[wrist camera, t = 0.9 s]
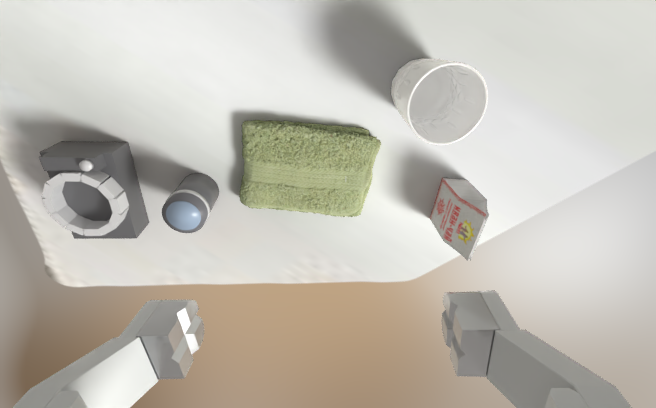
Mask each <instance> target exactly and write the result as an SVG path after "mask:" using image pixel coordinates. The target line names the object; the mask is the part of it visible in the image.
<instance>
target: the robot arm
mask: <svg viewBox="0 0 656 408" xmlns="http://www.w3.org/2000/svg"><path fill="white" fill-rule="evenodd" d="M443 304H444V307H445V309H446V310H445V311H444V312H443V313H442V331H443V336H444V339H445V343H446V345H447V346H449V347H450V348H451V353H450V358H451V361H452V363H453V367H454V370H455V372H456V375H457V376H480V377H481V376H482V377H487V379H488V380H489V381H490V382H491V383H492V384H493V385H494V386H495V387H496V388H497V389H498V390H499V391H500V392H501V393H502V394H503V395H504V396H505V397H506V398H507V399H508V400H509V401H510V402H511V403H512V404H513V405H514V406H515V407H516V408H632V407H631V406H630V404H629V403H628V402H627V400H626V399H625V398H624V397H623V396H622V394H621V393H620V392H619V390H618V389H617V388H616V387H615V386H614V385H612V384H611V383H609V382H607V381H606V380H604V379H603V378H601V377H600V376H598V375H596V374H595V373H593V372H592V371H590V370H589V369H587V368H585V367H584V366H582V365H581V364H579V363H578V362H576V361H574V360H573V359H571V358H570V357H568V356H566V355H565V354H563V353H562V352H560V351H558V350H557V349H555V348H554V347H552V346H551V345H549V344H547V343H546V342H544V341H543V340H541V339H539V338H538V337H536V336H535V335H533V334H532V333H530V332H528V331H527V330H520V328H519V327H518V325H517V324H516V322H515V321H514V319H513V317H512V315H511V314H510V312H509V310H508V309H507V307H506V306H505V304H504V302H503V301H502V299H501V298H500V296H499V294H498V293H497V292H496V291H495V290H492V291H478V292H449V293H445V294H444V298H443ZM197 311H198V306H197V303H196V301H194V300H150V301H148V302H146V304H145V305H144V306H143V307H142V308H141V310H140V311H139V312H138V314H137V315H136V316H135V317H134V319H133V320H132V321H131V322H130V324H129V325H128V326H127V328H126V329H125V330H124V331H123V333H122V334H121V335H120V336H119V338H113V339H111V340H109V341H108V342H106V343H105V344H103V345H101V346H100V347H98V348H96V349H95V350H93V351H91V352H90V353H88V354H87V355H85V356H84V357H82V358H80V359H78V360H77V361H75V362H73V363H72V364H70V365H69V366H67V367H65V368H64V369H62V370H60V371H59V372H57V373H56V374H54V375H52V376H51V377H49V378H47V379H46V380H44V381H42V382H41V383H39V384H38V385H36V386H34V387H33V388H31V389H29V391H28V392H27V393H26V394H25V395H24V396H23V397H22V398H21V399H20V400H19V401H18V402H17V404H16V405H15V406H14V407H13V408H130V407H131V406H132V405H133V404H134V403H135V402H136V401H137V400H138V399H139V398H141V396H143V395H144V394H145V393H146V392H147V391H148V390H149V389H150V388H151V387H152V386H153V385H154V384H156V383H157V382H158V379H181V378H185V376H186V374H187V372H188V370H189V368H190V366H191V364H192V362H193V357H192V353H194V352H195V351H196V350H198V349H199V347H200V345H201V343H202V341H203V336H204V324H203V321H202V319H201V318H200V317H199V316H197V315H196V313H197Z"/></svg>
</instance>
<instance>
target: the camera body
mask: <svg viewBox="0 0 656 408" xmlns="http://www.w3.org/2000/svg"><path fill="white" fill-rule="evenodd" d="M40 154H41V157H39V159H40V161H41V164H42V166H43V169H44V171H47V172H48V174H49V177H50V180H48V181H47V182H46V183H45V185H44V189H43V193H42V197H43V198H42V201H43V203H44V205H45V208H46V210H47V212H48V213H52V214H51V215H50V216H51V217H52V218H53V219H54V220H55V221H56V222H57V223H59V224H60V225H61V226H62V227H65V226H66V228H65V229H67V230H70V231H72V234H73V236H74V238H137V237H138V236H139V235H140V233H141V232H142V231H143V230H144V228H145V227H146V226H147V225H148V223H149V220H148V216H147V212H146V209H145V205H144V201H143V197H142V193H141V190H140V186H139V182H138V178H137V175H136V171H135V167H134V163H133V159H132V156H131V152H130V148H129V144H128V142H77V141H62V142H60V143H58V144H56V145H53V146H51V147H49V148H47V149H45V150H43V151H41V152H40Z"/></svg>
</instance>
